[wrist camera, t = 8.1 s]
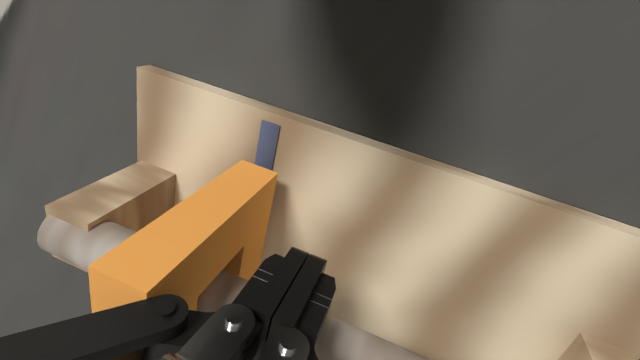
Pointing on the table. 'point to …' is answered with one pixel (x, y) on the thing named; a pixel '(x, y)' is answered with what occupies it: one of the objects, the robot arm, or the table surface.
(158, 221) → the collar
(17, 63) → the table surface
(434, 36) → the table surface
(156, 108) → the pipe stand
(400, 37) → the table surface
